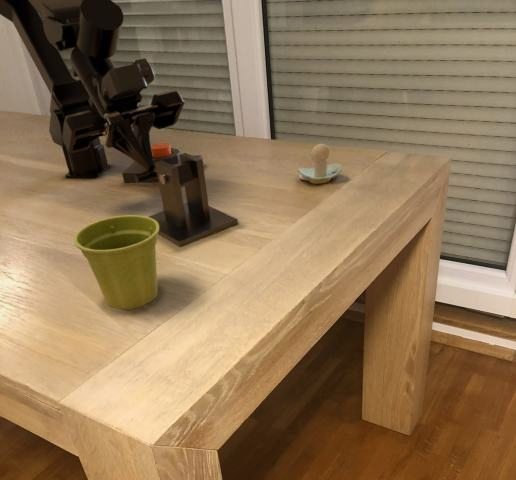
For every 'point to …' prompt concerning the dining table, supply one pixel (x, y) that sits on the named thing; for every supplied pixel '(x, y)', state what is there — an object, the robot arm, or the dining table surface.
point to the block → (137, 168)
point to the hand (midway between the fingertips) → (151, 168)
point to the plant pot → (122, 258)
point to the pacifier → (320, 166)
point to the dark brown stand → (187, 205)
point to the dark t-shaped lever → (183, 168)
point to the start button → (161, 150)
